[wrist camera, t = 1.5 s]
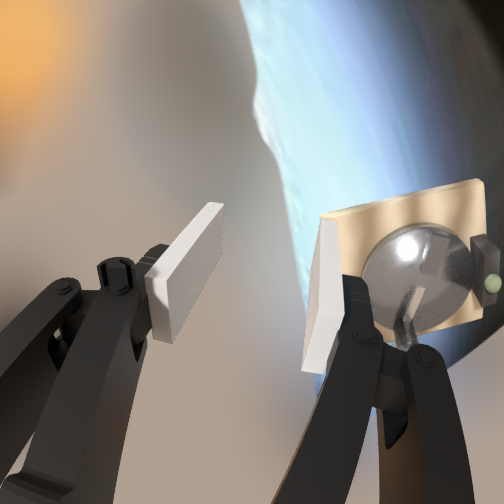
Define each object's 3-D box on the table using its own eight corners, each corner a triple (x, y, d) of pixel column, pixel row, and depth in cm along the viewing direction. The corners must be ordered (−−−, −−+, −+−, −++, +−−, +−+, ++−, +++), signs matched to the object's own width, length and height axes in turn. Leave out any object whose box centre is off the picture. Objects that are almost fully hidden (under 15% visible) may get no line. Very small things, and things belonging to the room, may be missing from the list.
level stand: (477, 178, 33) (509, 201, 25) (478, 310, 42) (496, 347, 34) (319, 214, 40) (319, 246, 32) (352, 340, 49) (354, 382, 41)
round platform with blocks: (467, 210, 33) (511, 257, 23) (467, 309, 39) (493, 367, 29) (349, 238, 38) (358, 296, 28) (369, 333, 45) (375, 397, 34)
